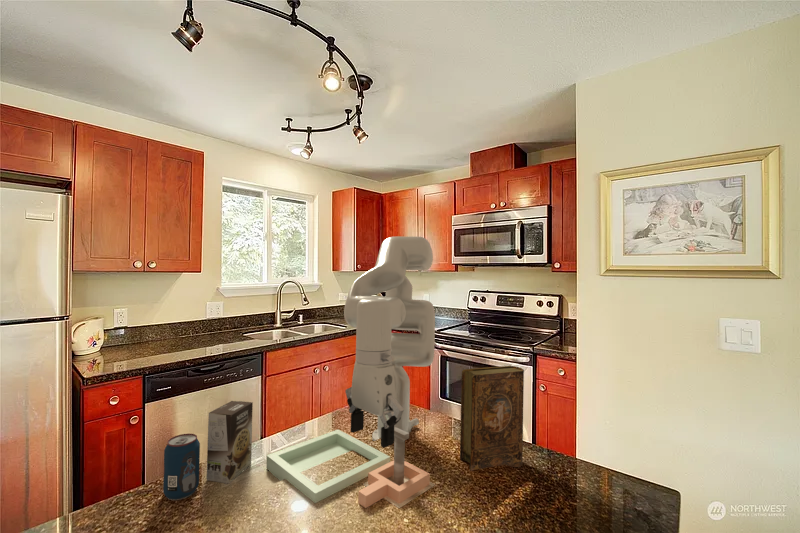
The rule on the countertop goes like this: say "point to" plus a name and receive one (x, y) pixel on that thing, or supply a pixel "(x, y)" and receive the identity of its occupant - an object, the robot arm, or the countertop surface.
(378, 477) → the pink flat frame
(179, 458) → the soda can
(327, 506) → the countertop surface
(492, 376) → the book
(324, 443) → the tray
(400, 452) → the stake stand
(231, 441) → the coffee box
